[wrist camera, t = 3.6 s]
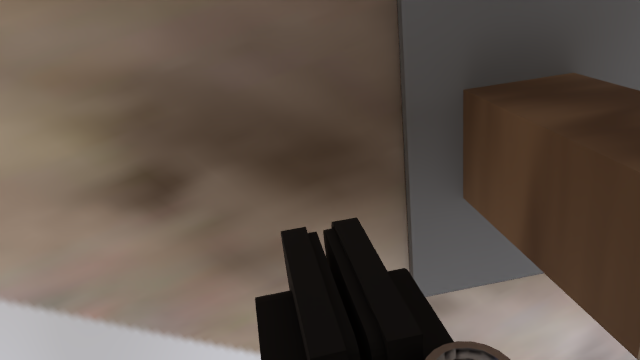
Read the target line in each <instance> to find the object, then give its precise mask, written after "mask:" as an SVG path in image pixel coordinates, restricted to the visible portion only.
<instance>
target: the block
mask: <svg viewBox="0 0 640 360" xmlns="http://www.w3.org/2000/svg"><path fill="white" fill-rule="evenodd" d="M463 198H464V199H465V200H466V201H467V202H468V203H469V204H470V205H471V206H472V207H474V208H475V209H476V210H477V211H478V212H479V213H480V214H481V215H482V216H483V217H484V218H485V219H486V220H488V221H489V222H490V223H491V224H492V225H493V226H494V227H495V228H496V229H497V230H498V231H499V232H500V233H502V234H503V235H504V236H505V237H506V238H507V239H508V240H509V241H510V242H511V243H512V244H513V245H515V246H516V247H517V248H518V249H519V250H520V251H521V252H522V253H523V254H524V255H525V256H526V257H527V258H529V259H530V260H531V261H532V262H533V263H534V264H535V265H536V266H537V267H538V268H539V269H540V270H542V271H543V272H544V273H545V274H546V275H547V276H548V277H549V278H550V279H551V280H552V281H553V282H554V283H556V284H557V285H558V286H559V287H560V288H561V289H562V290H563V291H564V292H565V293H566V294H567V295H569V296H570V297H571V298H572V299H573V300H574V301H575V302H576V303H577V304H578V305H579V306H580V307H581V308H583V309H584V310H585V311H586V312H587V313H588V314H589V315H590V316H591V317H592V318H593V319H594V320H596V321H597V322H598V323H599V324H600V325H601V326H602V327H603V328H604V329H605V330H606V331H607V332H608V333H610V334H611V335H612V336H613V337H614V338H615V339H616V340H617V341H618V342H619V343H620V344H621V345H622V346H624V347H625V348H626V349H627V350H628V351H629V352H630V353H631V354H632V355H633V356H634V357H635V358H637V359H638V360H640V91H639V90H635V89H632V88H628V87H624V86H621V85H617V84H613V83H610V82H606V81H602V80H599V79H595V78H591V77H588V76H584V75H580V74H577V73H569V74H562V75H556V76H549V77H543V78H536V79H530V80H523V81H516V82H510V83H503V84H497V85H490V86H484V87H477V88H471V89H464V90H463Z"/></svg>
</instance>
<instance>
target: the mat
mask: <svg viewBox="0 0 640 360" xmlns="http://www.w3.org/2000/svg"><path fill="white" fill-rule="evenodd" d="M397 4H398V25H399V47H400V68H401V89H402V111H403V132H404V153H405V175H406V196H407V218H408V239H409V260H410V274H411V276H412V277H413V279H414V280H415V282H416V283H417V285H418V287H419V288H420V290H421V291H422V293H423V294H424V296H425V297H428V296H433V295H438V294H443V293H448V292H452V291H457V290H462V289H467V288H472V287H477V286H482V285H487V284H492V283H497V282H502V281H507V280H512V279H517V278H522V277H527V276H532V275H537V274H542V273H544V272H543V271H542V270H540V269H539V268H538V267H537V266H536V265H535V264H534V263H533V262H532V261H531V260H530V259H529V258H527V257H526V256H525V255H524V254H523V253H522V252H521V251H520V250H519V249H518V248H517V247H516V246H515V245H513V244H512V243H511V242H510V241H509V240H508V239H507V238H506V237H505V236H504V235H503V234H502V233H500V232H499V231H498V230H497V229H496V228H495V227H494V226H493V225H492V224H491V223H490V222H489V221H488V220H486V219H485V218H484V217H483V216H482V215H481V214H480V213H479V212H478V211H477V210H476V209H475V208H474V207H472V206H471V205H470V204H469V203H468V202H467V201H466V200H465V199H464V198H463V90H464V89H471V88H477V87H484V86H490V85H497V84H503V83H510V82H516V81H523V80H530V79H536V78H543V77H549V76H556V75H562V74H569V73H577V74H580V75H584V76H588V77H591V78H595V79H599V80H602V81H606V82H610V83H613V84H617V85H621V86H624V87H628V88H632V89H635V90H639V91H640V0H397Z"/></svg>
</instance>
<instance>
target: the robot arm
mask: <svg viewBox="0 0 640 360" xmlns="http://www.w3.org/2000/svg"><path fill="white" fill-rule="evenodd" d="M323 234H324V243H325V251H326V256H325V254H324V251H323V248H322V245H321V243H320V240H319V237H318V235H317V232H312V233H307V230H306V227H302V228H297V229H291V230H286V231H281V238H282V245H283V251H284V257H285V263H286V270H287V276H288V282H289V289H290V291H286V292H281V293H276V294H271V295H266V296H261V297H255V303H256V313H257V323H258V333H259V343H260V353H261V360H510V359H509V358H508V357H507V356H505V355H504V354H503V353H501V352H500V351H499V350H496V349H494V348H492V347H490V346H487V345H485V344H480V343H476V342H460V341H458V342H454V341H453V340H452V338H451V337H450V335H449V334H448V332H447V330H446V329H445V327H444V326H443V324H442V323H441V321H440V320H439V318H438V316H437V315H436V313H435V312H434V310H433V309H432V307H431V305H430V304H429V302H428V301H427V299H426V298H425V296H424V294H423V293H422V291H421V290H420V288H419V287H418V285H417V283H416V282H415V280H414V279H413V277H412V276H411V274H410V273H409V271H408V270H407V269H405V268H403V269H398V270H393V271H388V272H387V270H386V268H385V266H384V265H383V263H382V261H381V259H380V258H379V256H378V254H377V252H376V250H375V249H374V247H373V245H372V243H371V242H370V240H369V238H368V236H367V234H366V233H365V231H364V229H363V227H362V226H361V224H360V222H359V220H358V219H357V218H352V219H346V220H341V221H335V222H332V229H328V230H324V231H323Z"/></svg>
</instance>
